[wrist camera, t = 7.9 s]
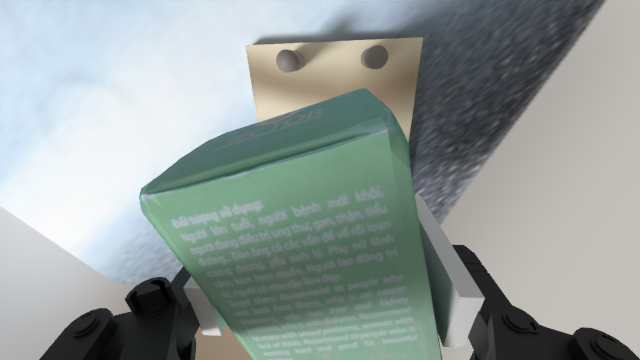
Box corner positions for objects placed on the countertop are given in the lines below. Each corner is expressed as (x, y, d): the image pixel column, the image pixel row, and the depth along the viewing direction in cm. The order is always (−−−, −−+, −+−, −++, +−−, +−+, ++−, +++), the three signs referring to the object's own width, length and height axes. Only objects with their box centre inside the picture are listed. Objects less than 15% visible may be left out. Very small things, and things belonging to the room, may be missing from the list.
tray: (250, 46, 20) (224, 41, 15) (418, 38, 19) (444, 31, 14) (276, 224, 29) (265, 256, 24) (393, 226, 28) (405, 259, 23)
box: (366, 79, 11) (408, 106, 4) (409, 277, 17) (458, 422, 10) (229, 125, 12) (105, 198, 6) (312, 292, 18) (296, 428, 11)
